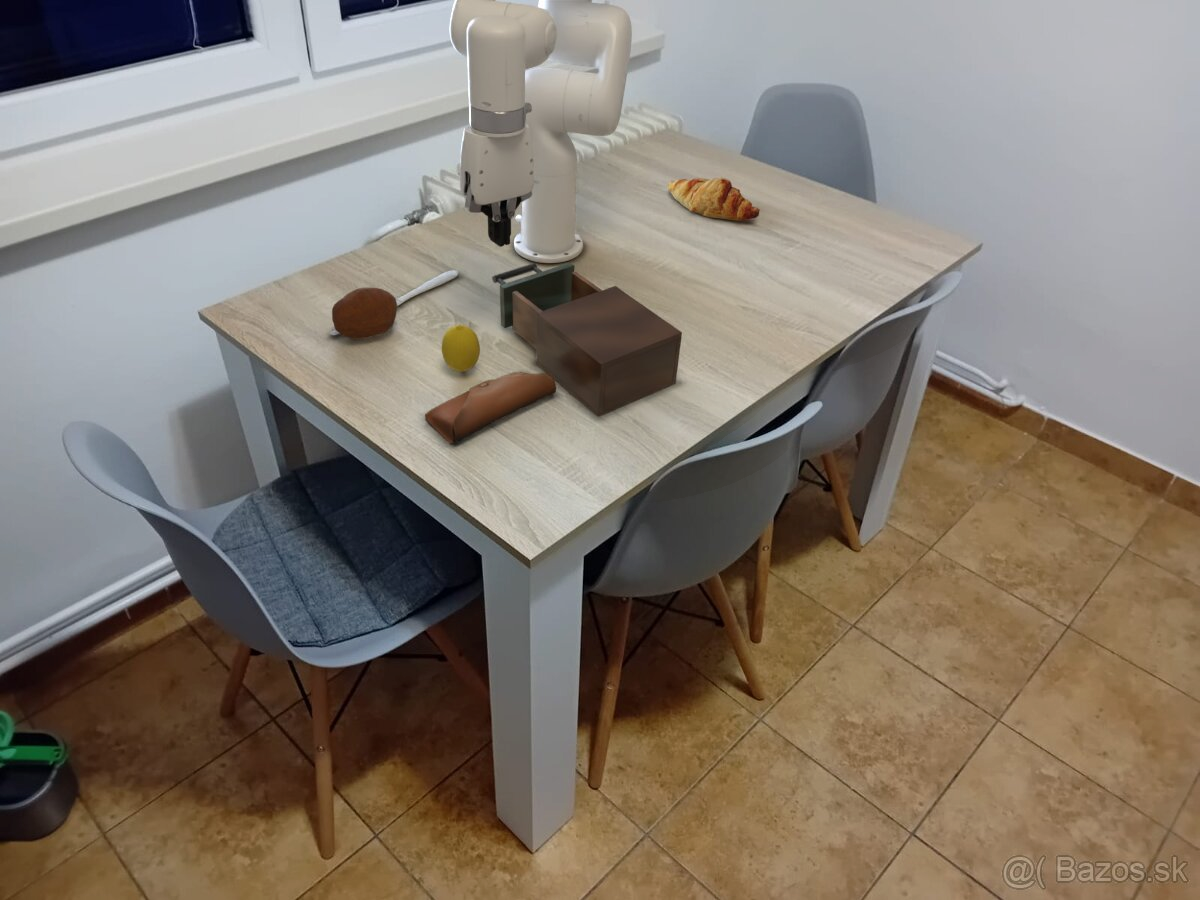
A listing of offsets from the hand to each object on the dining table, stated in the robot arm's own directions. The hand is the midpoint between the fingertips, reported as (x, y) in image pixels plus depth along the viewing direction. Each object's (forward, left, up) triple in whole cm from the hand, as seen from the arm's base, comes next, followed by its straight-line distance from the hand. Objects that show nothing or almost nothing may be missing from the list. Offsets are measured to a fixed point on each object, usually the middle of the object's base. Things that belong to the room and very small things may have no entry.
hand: (499, 241), depth 134 cm
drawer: (+3, +7, -15) cm, 17 cm away
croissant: (-15, +59, -16) cm, 63 cm away
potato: (-11, -18, -16) cm, 26 cm away
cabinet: (+18, +7, -16) cm, 25 cm away
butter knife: (-16, -10, -16) cm, 25 cm away
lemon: (+6, -11, -16) cm, 20 cm away
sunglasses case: (+16, -12, -16) cm, 26 cm away
